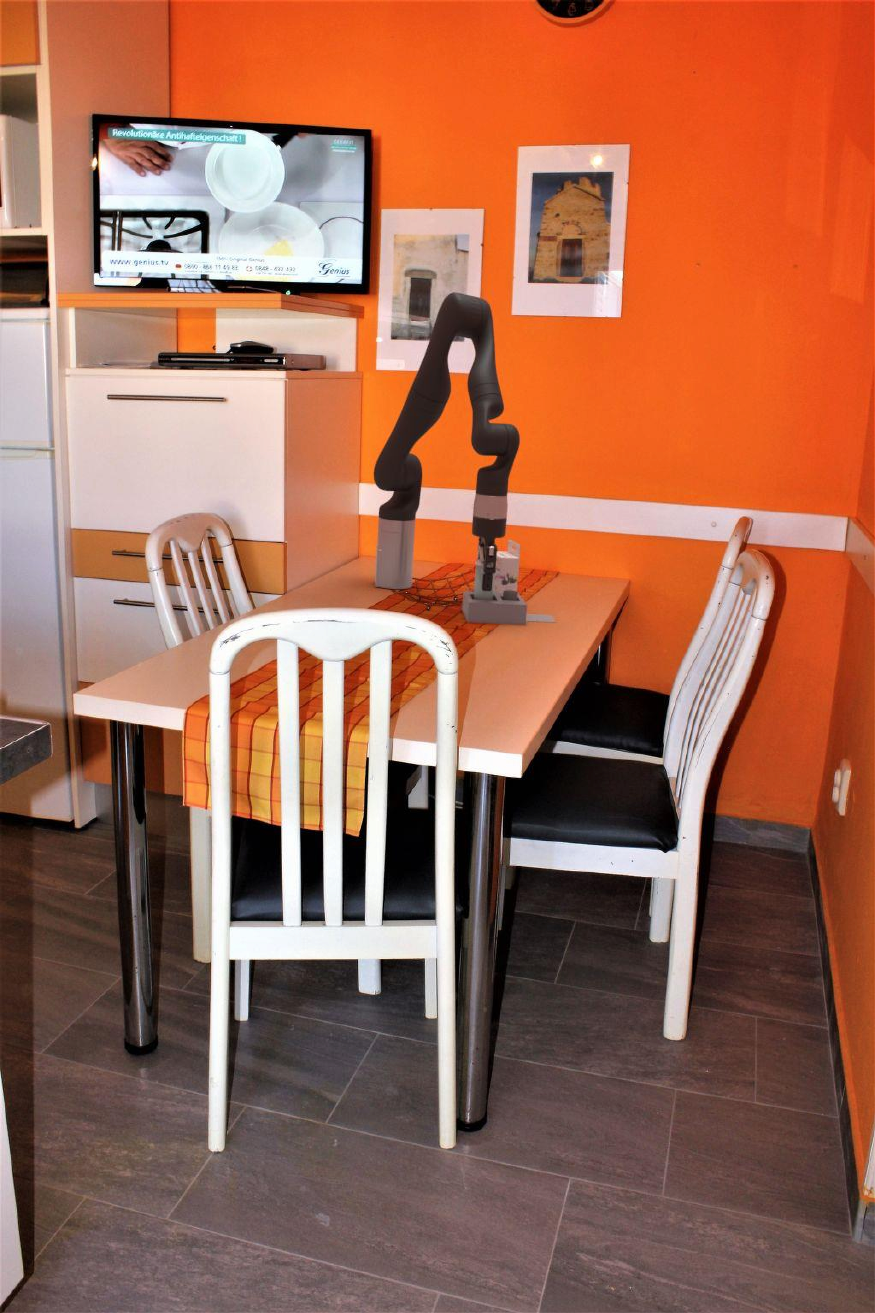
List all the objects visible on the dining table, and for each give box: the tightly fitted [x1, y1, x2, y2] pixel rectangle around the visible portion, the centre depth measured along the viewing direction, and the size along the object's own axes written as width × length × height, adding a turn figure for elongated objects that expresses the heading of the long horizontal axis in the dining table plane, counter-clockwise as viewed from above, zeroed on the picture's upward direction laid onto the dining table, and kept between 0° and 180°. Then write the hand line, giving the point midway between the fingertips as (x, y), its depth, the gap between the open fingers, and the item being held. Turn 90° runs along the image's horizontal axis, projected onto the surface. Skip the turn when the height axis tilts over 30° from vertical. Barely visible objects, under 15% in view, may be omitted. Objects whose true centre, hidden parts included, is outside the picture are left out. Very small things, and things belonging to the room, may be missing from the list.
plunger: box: [503, 590, 519, 601], centre depth 253 cm, size 3×3×6 cm
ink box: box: [494, 539, 521, 593], centre depth 272 cm, size 8×5×15 cm, turn 17°
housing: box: [461, 590, 528, 626], centre depth 253 cm, size 13×12×5 cm
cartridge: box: [473, 558, 497, 600], centre depth 252 cm, size 5×5×13 cm
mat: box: [526, 613, 556, 624], centre depth 256 cm, size 7×7×1 cm
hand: (484, 587), depth 252 cm, fingers open, 7 cm apart
